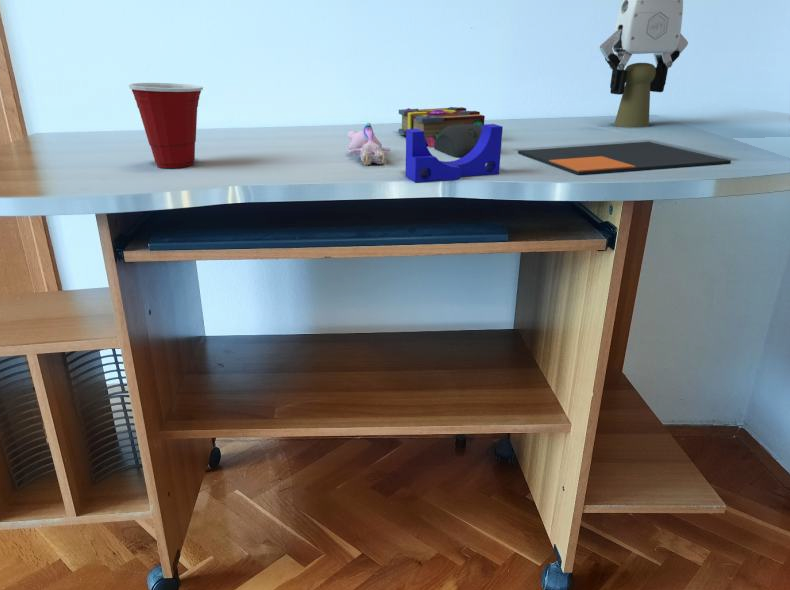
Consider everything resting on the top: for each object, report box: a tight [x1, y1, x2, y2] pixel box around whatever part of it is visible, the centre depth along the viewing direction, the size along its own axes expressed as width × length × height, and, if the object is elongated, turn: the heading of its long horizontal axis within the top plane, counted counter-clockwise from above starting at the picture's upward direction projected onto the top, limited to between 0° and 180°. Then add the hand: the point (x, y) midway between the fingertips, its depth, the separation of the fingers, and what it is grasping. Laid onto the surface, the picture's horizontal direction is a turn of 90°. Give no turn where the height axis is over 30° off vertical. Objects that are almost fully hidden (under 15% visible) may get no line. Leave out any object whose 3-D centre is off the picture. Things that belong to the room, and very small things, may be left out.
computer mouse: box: [433, 124, 482, 158], centre depth 101 cm, size 6×11×4 cm, turn 12°
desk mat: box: [517, 141, 732, 176], centre depth 92 cm, size 22×18×1 cm
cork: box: [613, 62, 656, 130], centre depth 115 cm, size 6×6×11 cm
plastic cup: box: [128, 82, 204, 169], centre depth 97 cm, size 11×11×12 cm
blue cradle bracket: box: [405, 123, 504, 183], centre depth 84 cm, size 12×4×6 cm, turn 100°
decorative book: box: [398, 106, 486, 148], centre depth 113 cm, size 11×16×5 cm
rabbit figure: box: [347, 122, 391, 167], centre depth 97 cm, size 6×6×15 cm
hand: (636, 92), depth 115 cm, fingers open, 7 cm apart
